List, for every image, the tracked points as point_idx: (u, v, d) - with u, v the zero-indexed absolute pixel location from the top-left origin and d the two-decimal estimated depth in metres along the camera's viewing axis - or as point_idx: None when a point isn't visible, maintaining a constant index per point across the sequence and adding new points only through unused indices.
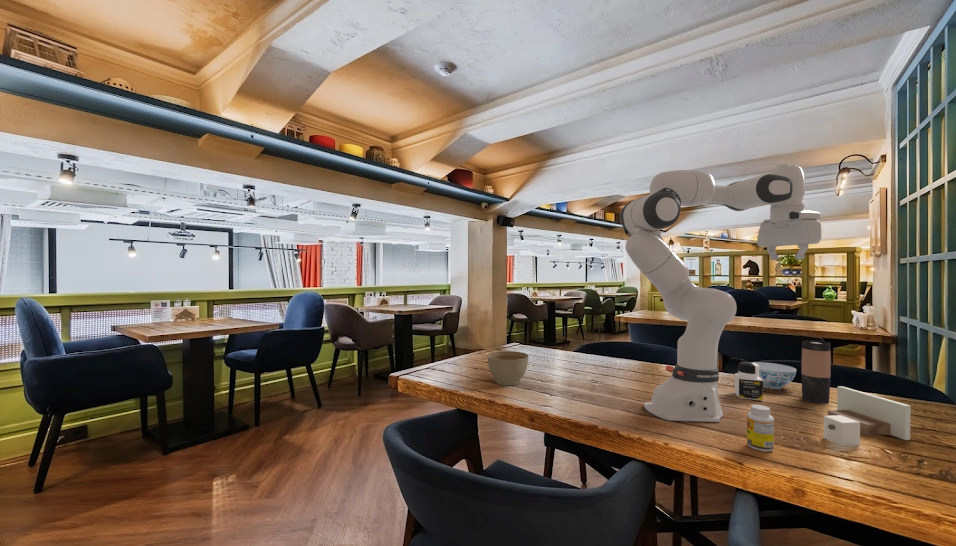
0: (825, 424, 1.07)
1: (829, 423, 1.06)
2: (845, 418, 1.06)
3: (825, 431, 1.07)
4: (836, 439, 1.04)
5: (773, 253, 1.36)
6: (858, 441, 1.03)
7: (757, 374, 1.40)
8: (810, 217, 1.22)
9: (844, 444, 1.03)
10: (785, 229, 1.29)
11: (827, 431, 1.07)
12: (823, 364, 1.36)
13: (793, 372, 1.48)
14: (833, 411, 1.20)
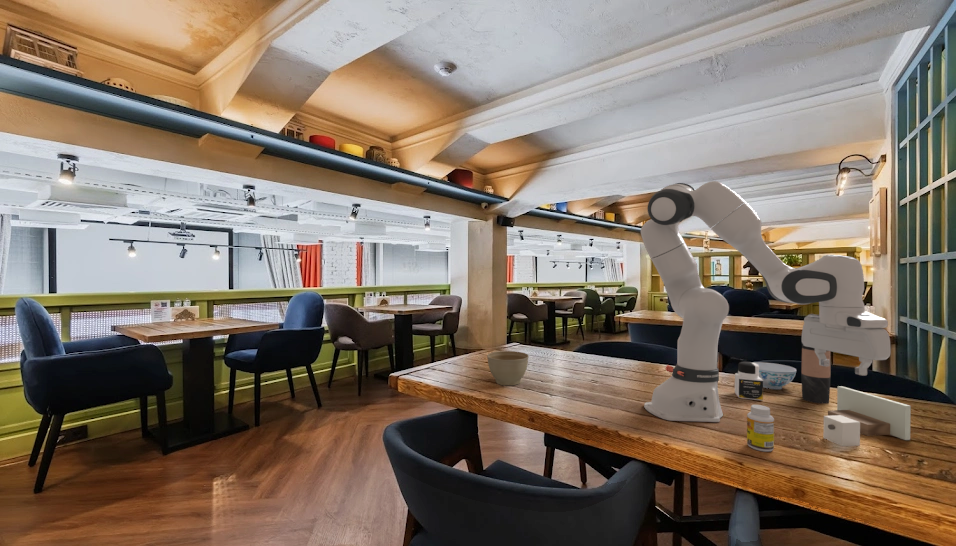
0: (825, 424, 1.07)
1: (829, 423, 1.06)
2: (845, 418, 1.06)
3: (825, 431, 1.07)
4: (836, 439, 1.04)
5: (823, 357, 1.11)
6: (858, 441, 1.03)
7: (757, 374, 1.40)
8: (875, 326, 0.97)
9: (844, 444, 1.03)
10: (841, 335, 1.05)
11: (827, 431, 1.07)
12: None
13: (793, 372, 1.48)
14: (833, 411, 1.20)
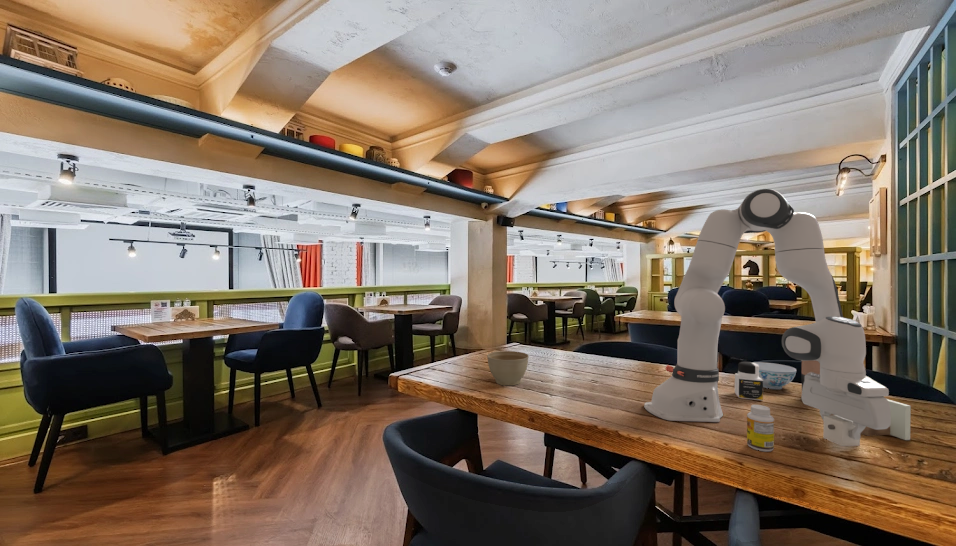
0: (825, 424, 1.07)
1: (829, 423, 1.06)
2: None
3: (825, 431, 1.07)
4: (836, 439, 1.04)
5: None
6: (858, 441, 1.03)
7: (757, 374, 1.40)
8: (876, 395, 0.97)
9: (844, 444, 1.03)
10: (841, 398, 1.04)
11: (827, 431, 1.07)
12: None
13: (793, 372, 1.48)
14: None
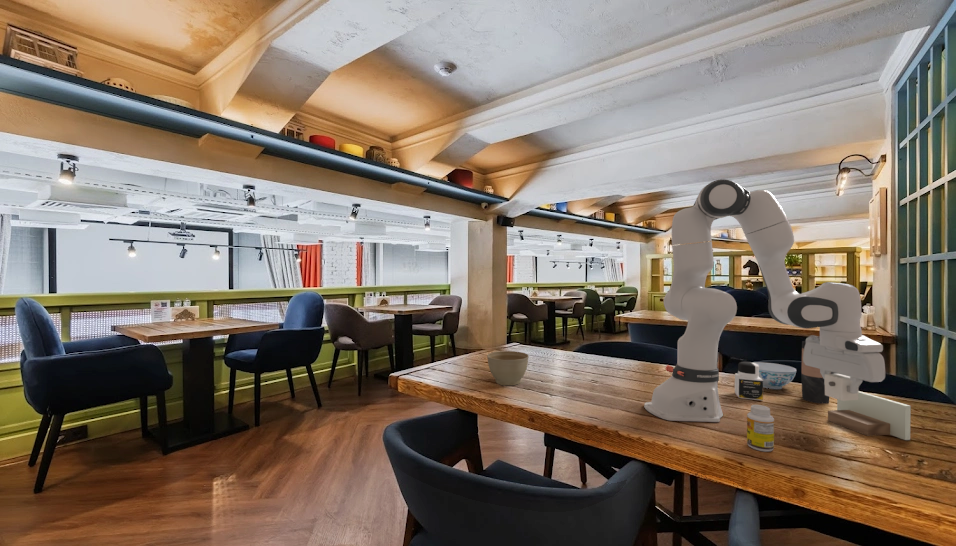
0: (826, 382, 1.16)
1: (830, 380, 1.15)
2: (844, 375, 1.15)
3: (826, 388, 1.16)
4: (837, 395, 1.13)
5: None
6: (857, 395, 1.12)
7: (757, 374, 1.40)
8: (871, 351, 1.05)
9: (844, 398, 1.12)
10: (839, 357, 1.13)
11: (828, 388, 1.15)
12: None
13: (793, 372, 1.48)
14: (833, 411, 1.20)
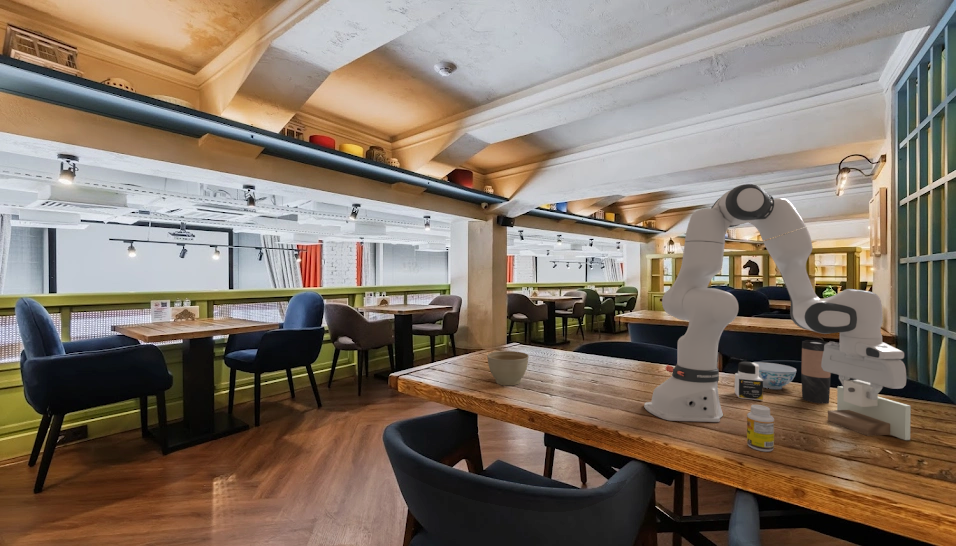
0: (845, 388, 1.17)
1: (849, 386, 1.16)
2: (864, 382, 1.16)
3: (845, 394, 1.17)
4: (856, 401, 1.14)
5: None
6: (876, 402, 1.13)
7: (757, 374, 1.40)
8: (893, 358, 1.07)
9: (863, 404, 1.13)
10: (859, 363, 1.14)
11: (847, 394, 1.16)
12: None
13: (793, 372, 1.48)
14: (833, 411, 1.20)
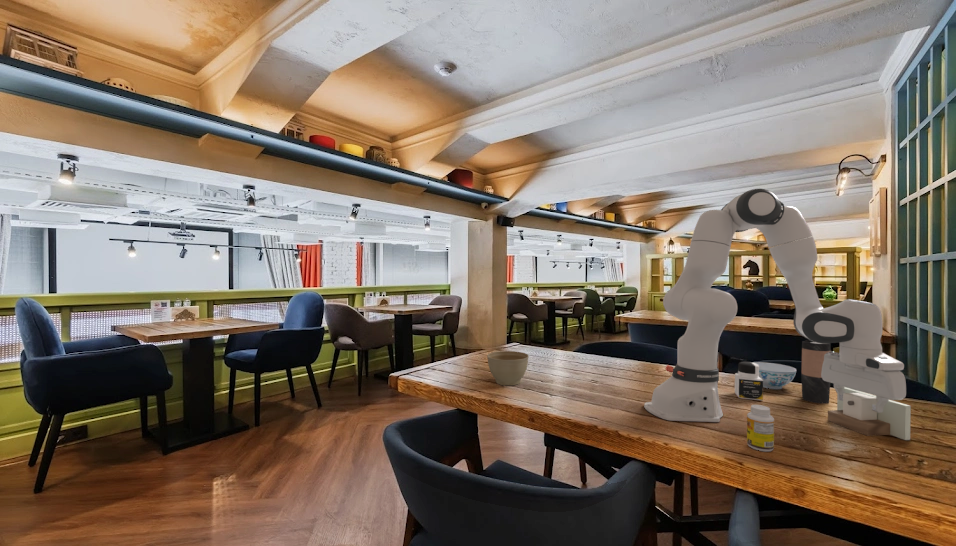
0: (844, 401, 1.17)
1: (848, 399, 1.16)
2: (863, 395, 1.16)
3: (844, 407, 1.17)
4: (855, 414, 1.14)
5: (841, 392, 1.20)
6: (875, 415, 1.13)
7: (757, 374, 1.40)
8: (892, 369, 1.07)
9: (863, 418, 1.13)
10: (859, 374, 1.14)
11: (846, 407, 1.16)
12: None
13: (793, 372, 1.48)
14: (833, 411, 1.20)
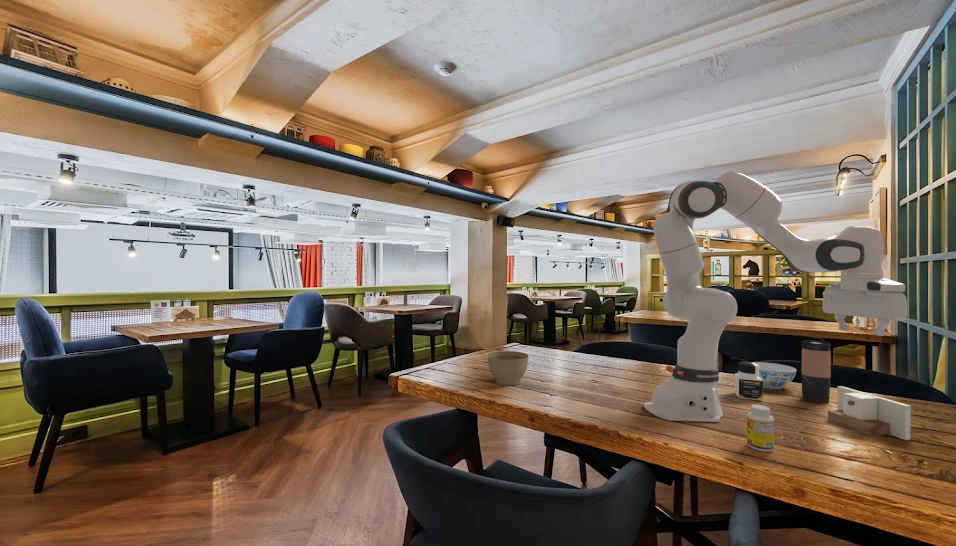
0: (844, 401, 1.17)
1: (848, 399, 1.16)
2: (863, 395, 1.16)
3: (844, 407, 1.17)
4: (855, 414, 1.14)
5: (842, 322, 1.20)
6: (875, 415, 1.13)
7: (757, 374, 1.40)
8: (894, 290, 1.06)
9: (863, 418, 1.13)
10: (860, 299, 1.14)
11: (846, 407, 1.16)
12: (823, 364, 1.36)
13: (793, 372, 1.48)
14: (833, 411, 1.20)
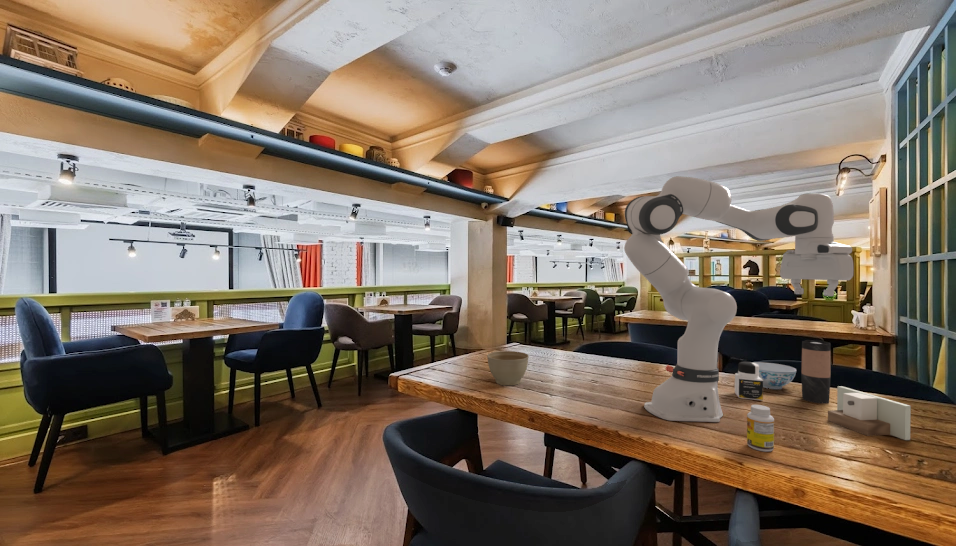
0: (844, 401, 1.17)
1: (848, 399, 1.16)
2: (863, 395, 1.16)
3: (844, 407, 1.17)
4: (855, 414, 1.14)
5: (798, 287, 1.26)
6: (875, 415, 1.13)
7: (757, 374, 1.40)
8: (841, 251, 1.12)
9: (863, 418, 1.13)
10: (812, 263, 1.20)
11: (846, 407, 1.16)
12: (823, 364, 1.36)
13: (793, 372, 1.48)
14: (833, 411, 1.20)
